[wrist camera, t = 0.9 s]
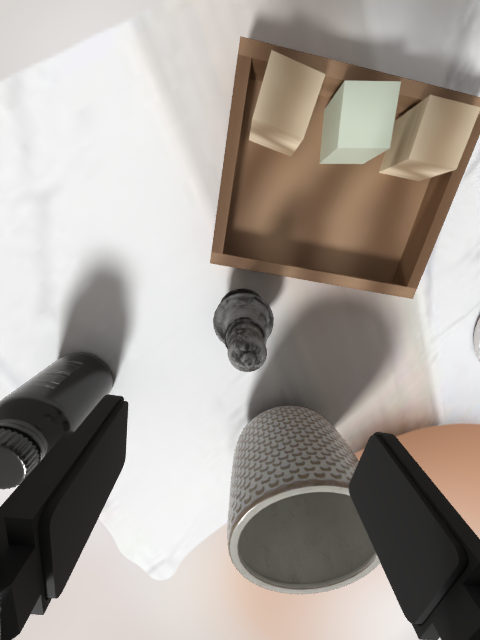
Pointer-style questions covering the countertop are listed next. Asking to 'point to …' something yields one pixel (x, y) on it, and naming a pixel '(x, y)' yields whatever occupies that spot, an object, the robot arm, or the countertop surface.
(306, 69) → the cube
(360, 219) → the tray
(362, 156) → the cube
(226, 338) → the salt shaker
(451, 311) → the countertop surface
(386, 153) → the cube
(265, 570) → the planter
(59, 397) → the supplement bottle
